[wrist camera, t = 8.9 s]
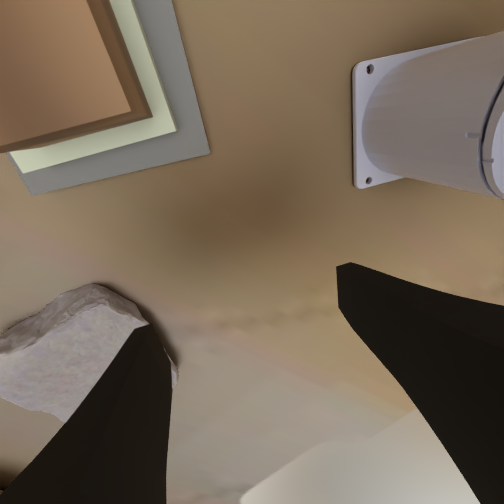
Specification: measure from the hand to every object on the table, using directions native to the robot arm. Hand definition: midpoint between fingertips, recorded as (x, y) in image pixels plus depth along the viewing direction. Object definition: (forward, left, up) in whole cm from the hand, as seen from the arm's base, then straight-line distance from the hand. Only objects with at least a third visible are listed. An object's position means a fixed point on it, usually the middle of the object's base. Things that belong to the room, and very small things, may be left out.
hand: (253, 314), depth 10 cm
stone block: (+12, +8, -11) cm, 18 cm away
